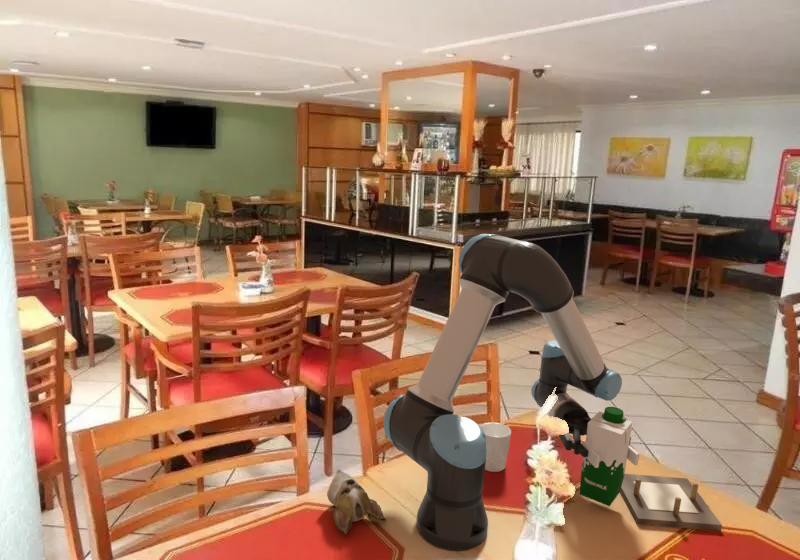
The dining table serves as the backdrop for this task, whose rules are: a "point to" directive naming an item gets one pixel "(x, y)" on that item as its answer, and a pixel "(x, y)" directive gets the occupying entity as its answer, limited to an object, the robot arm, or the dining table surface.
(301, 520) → the dining table surface
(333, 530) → the dining table surface
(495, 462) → the white cup
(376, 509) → the ceramic sculpture
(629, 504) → the pin base plate
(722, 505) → the dining table surface
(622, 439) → the soya milk
